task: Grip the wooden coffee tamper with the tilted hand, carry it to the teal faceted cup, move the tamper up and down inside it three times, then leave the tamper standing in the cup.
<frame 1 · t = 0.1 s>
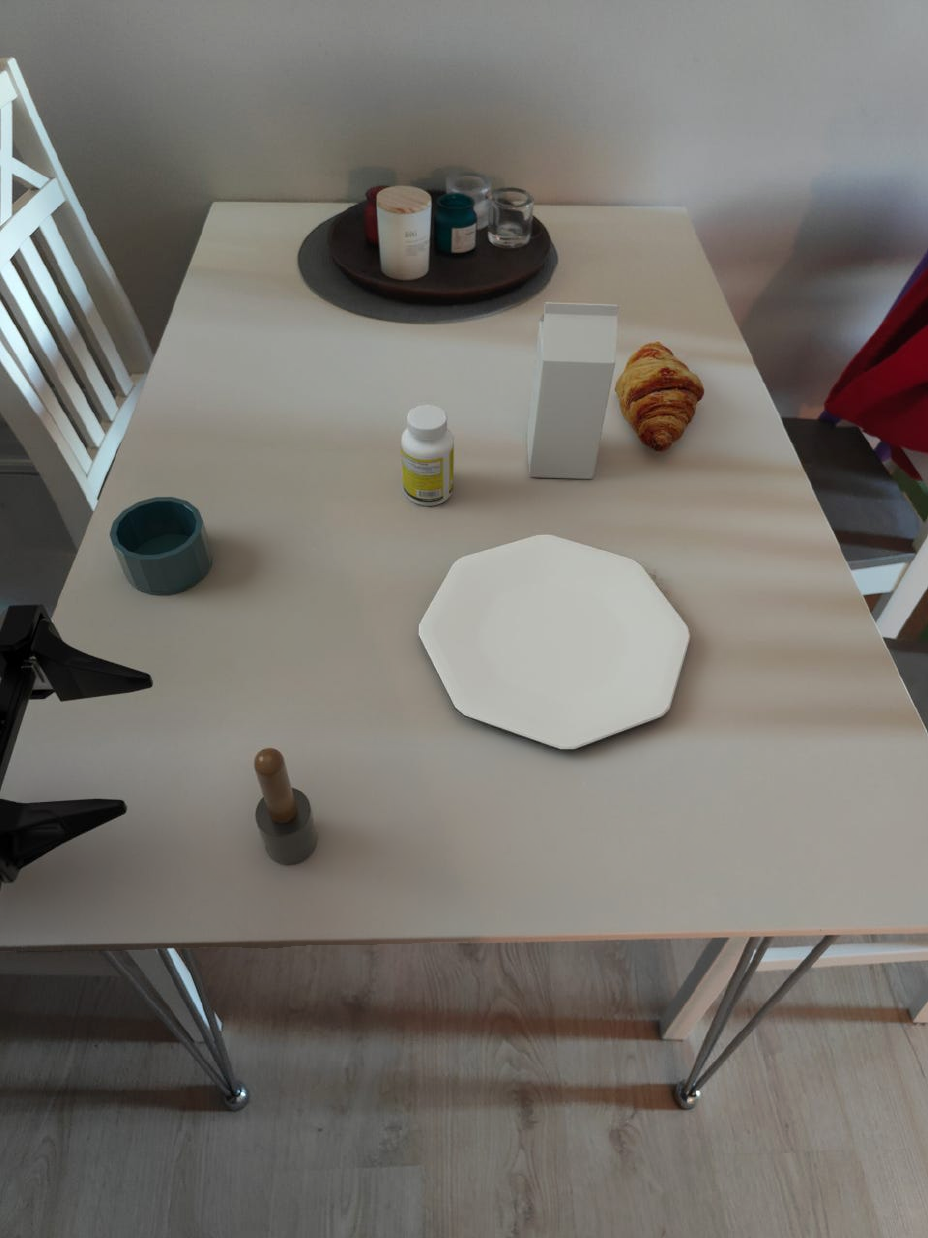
hand: (139, 740, 54), 15 cm above the table, tool horizontal, fingers open, 9 cm apart
plate: (552, 641, 80), on the table
teal faceted cup: (168, 563, 84), on the table
milk carton: (558, 459, 97), on the table
coffee tamper: (291, 840, 66), on the table
croissant: (655, 409, 103), on the table
supplement bottle: (427, 491, 92), on the table
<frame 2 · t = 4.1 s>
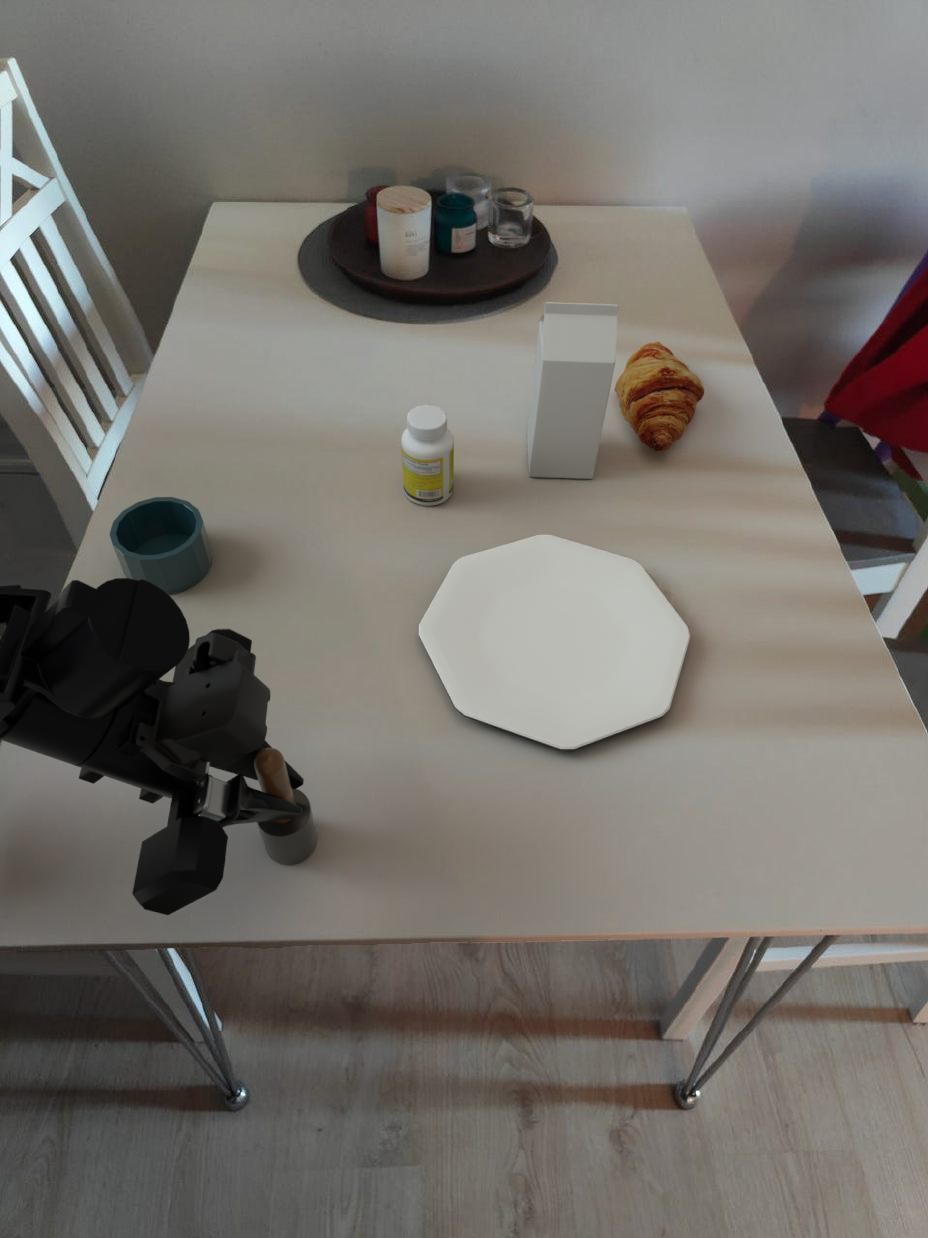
hand: (299, 799, 61), 7 cm above the table, tool tilted 45°, fingers closed on coffee tamper, 2 cm apart
coffee tamper: (291, 840, 66), on the table, touching gripper
everything else where it was.
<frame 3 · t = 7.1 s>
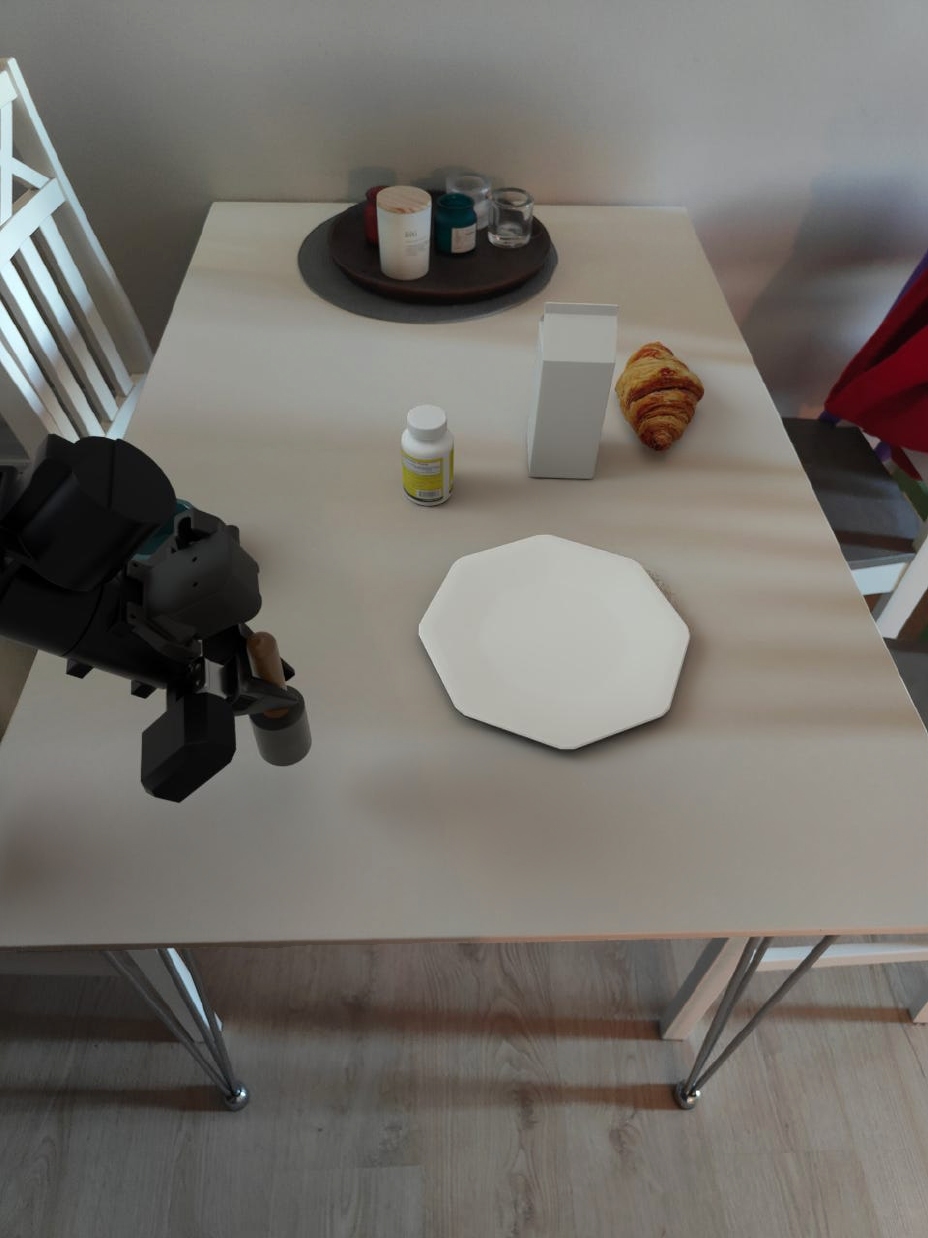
hand: (292, 689, 59), 13 cm above the table, tool tilted 45°, fingers closed on coffee tamper
coffee tamper: (285, 743, 64), point 6 cm above the table, touching gripper
everything else where it was.
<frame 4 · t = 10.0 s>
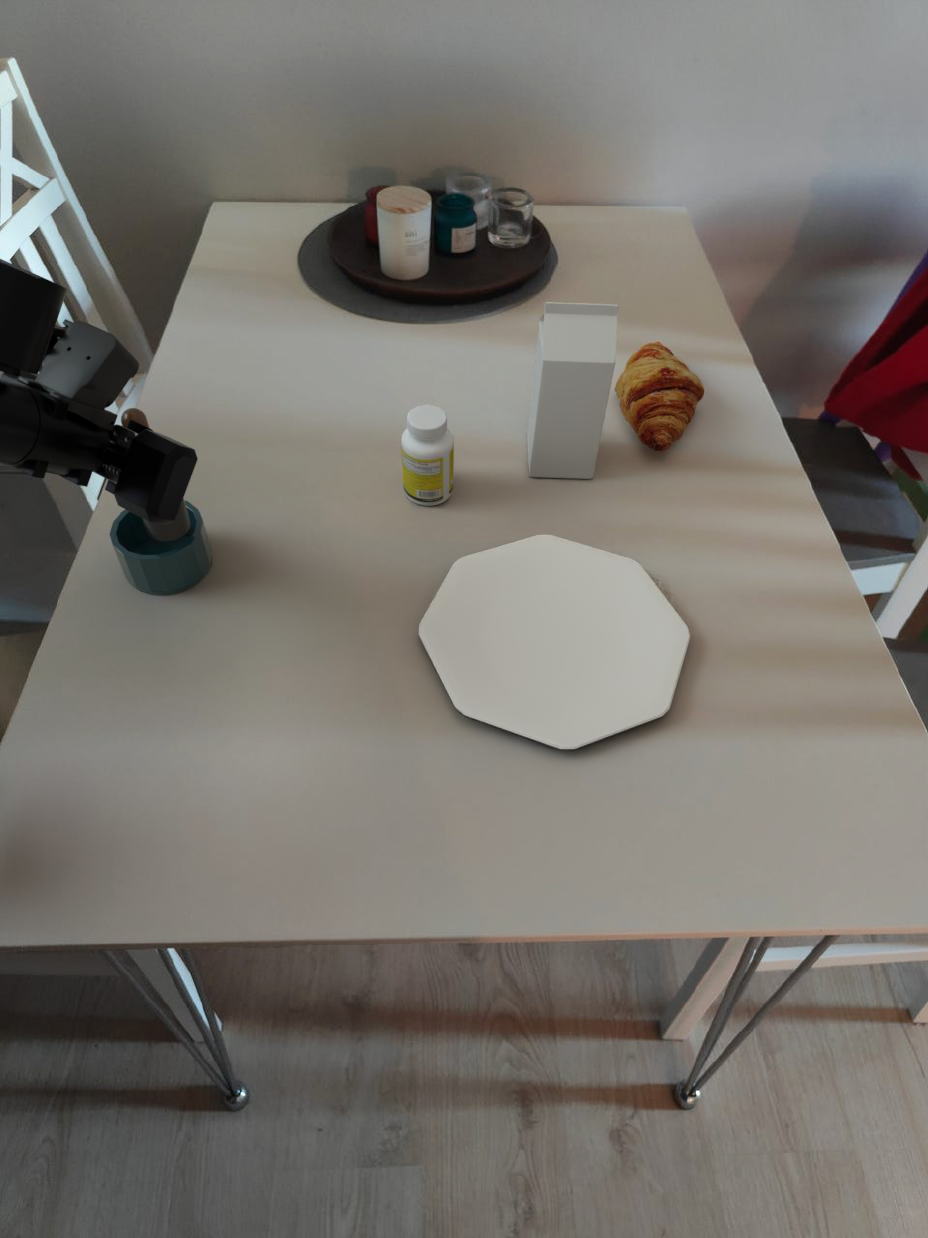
hand: (161, 461, 74), 13 cm above the table, tool tilted 45°, fingers closed on coffee tamper
coffee tamper: (168, 526, 79), point 6 cm above the table, touching gripper
everything else where it was.
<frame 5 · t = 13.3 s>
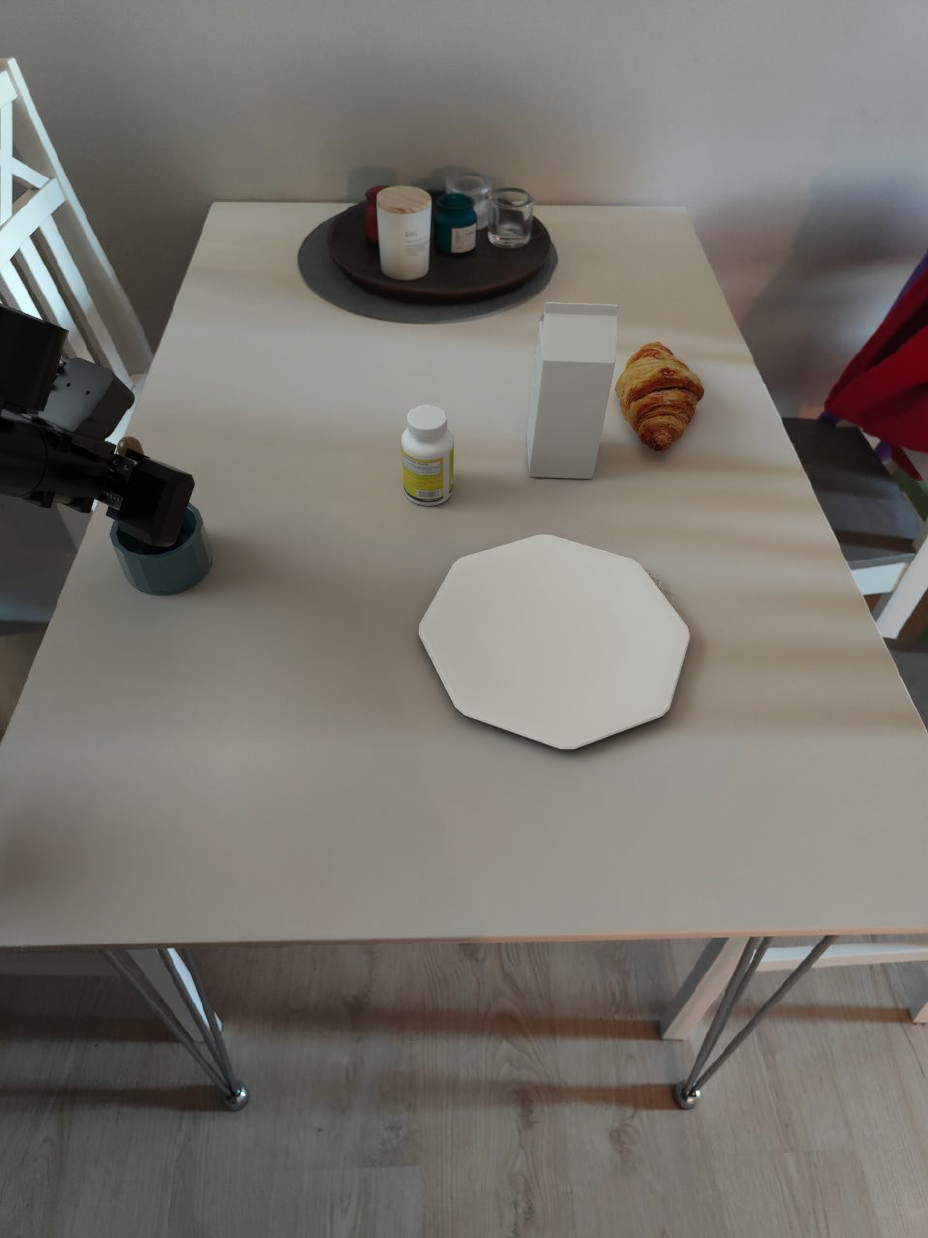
hand: (155, 485, 78), 9 cm above the table, tool tilted 45°, fingers closed on coffee tamper, 2 cm apart
coffee tamper: (163, 546, 82), point 2 cm above the table, touching gripper
everything else where it was.
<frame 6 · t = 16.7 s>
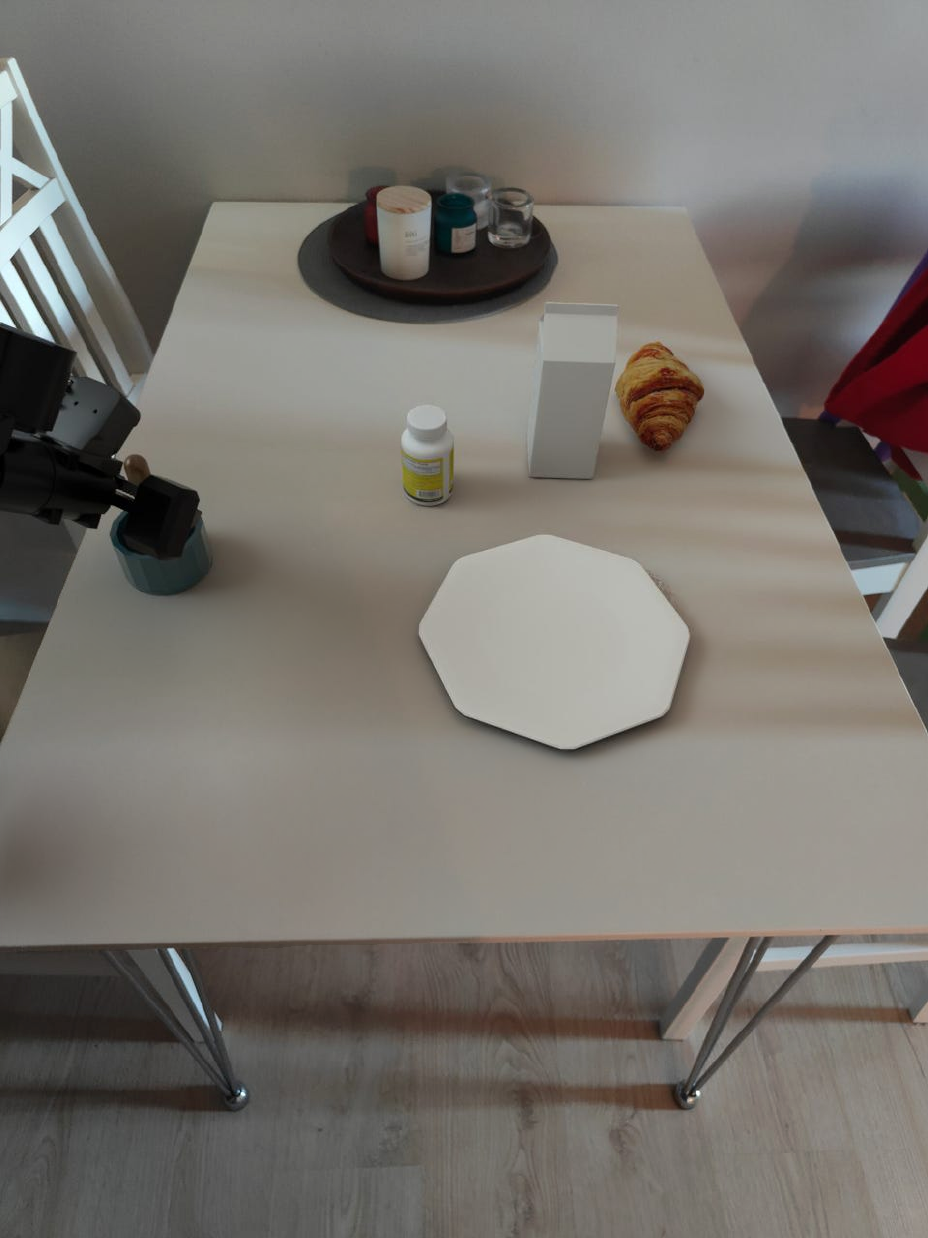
hand: (160, 499, 79), 7 cm above the table, tool tilted 45°, fingers open, 9 cm apart
coffee tamper: (167, 559, 84), resting on teal faceted cup
everything else where it was.
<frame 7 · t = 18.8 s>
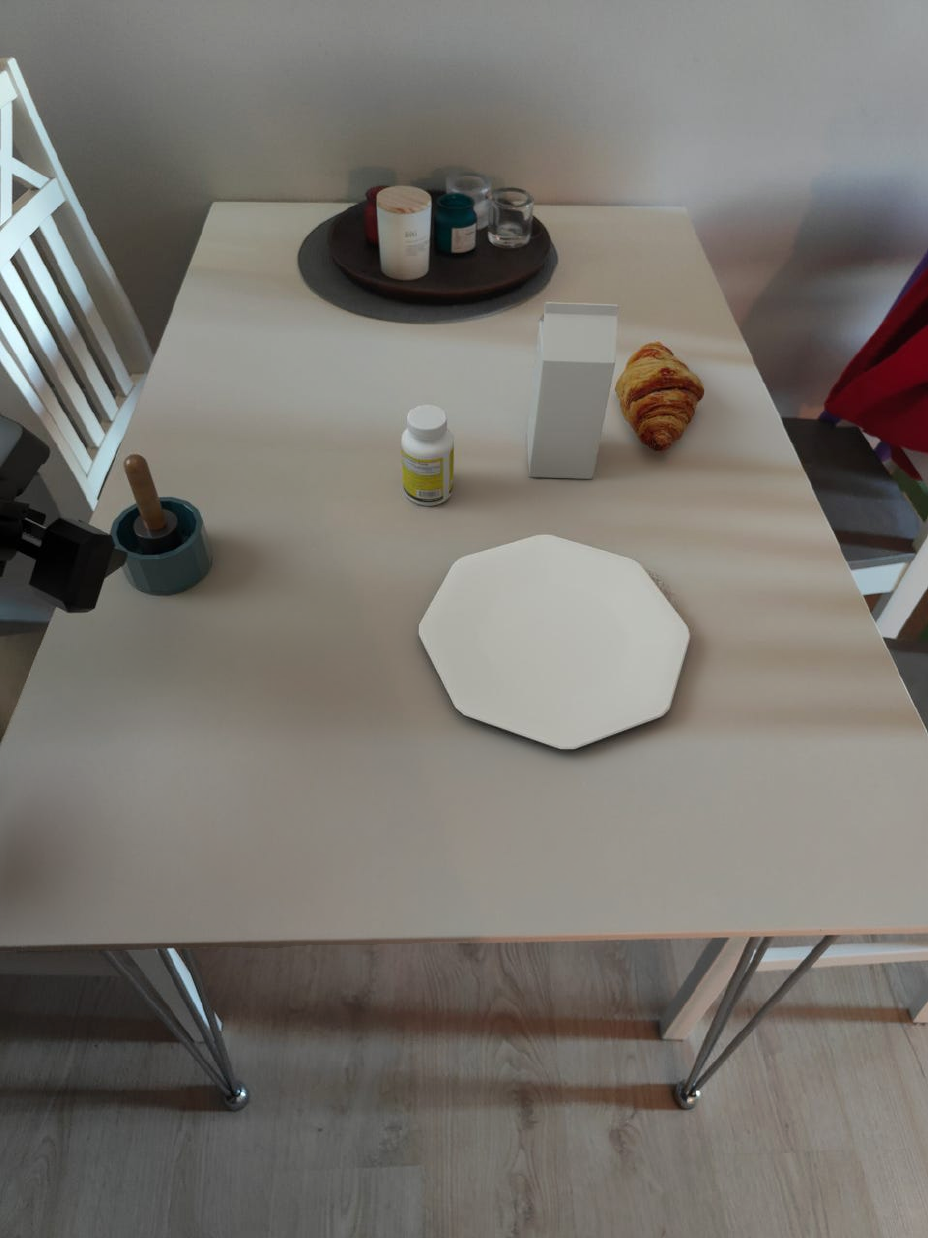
hand: (83, 538, 72), 10 cm above the table, tool tilted 45°, fingers open, 9 cm apart
nothing on the table moved.
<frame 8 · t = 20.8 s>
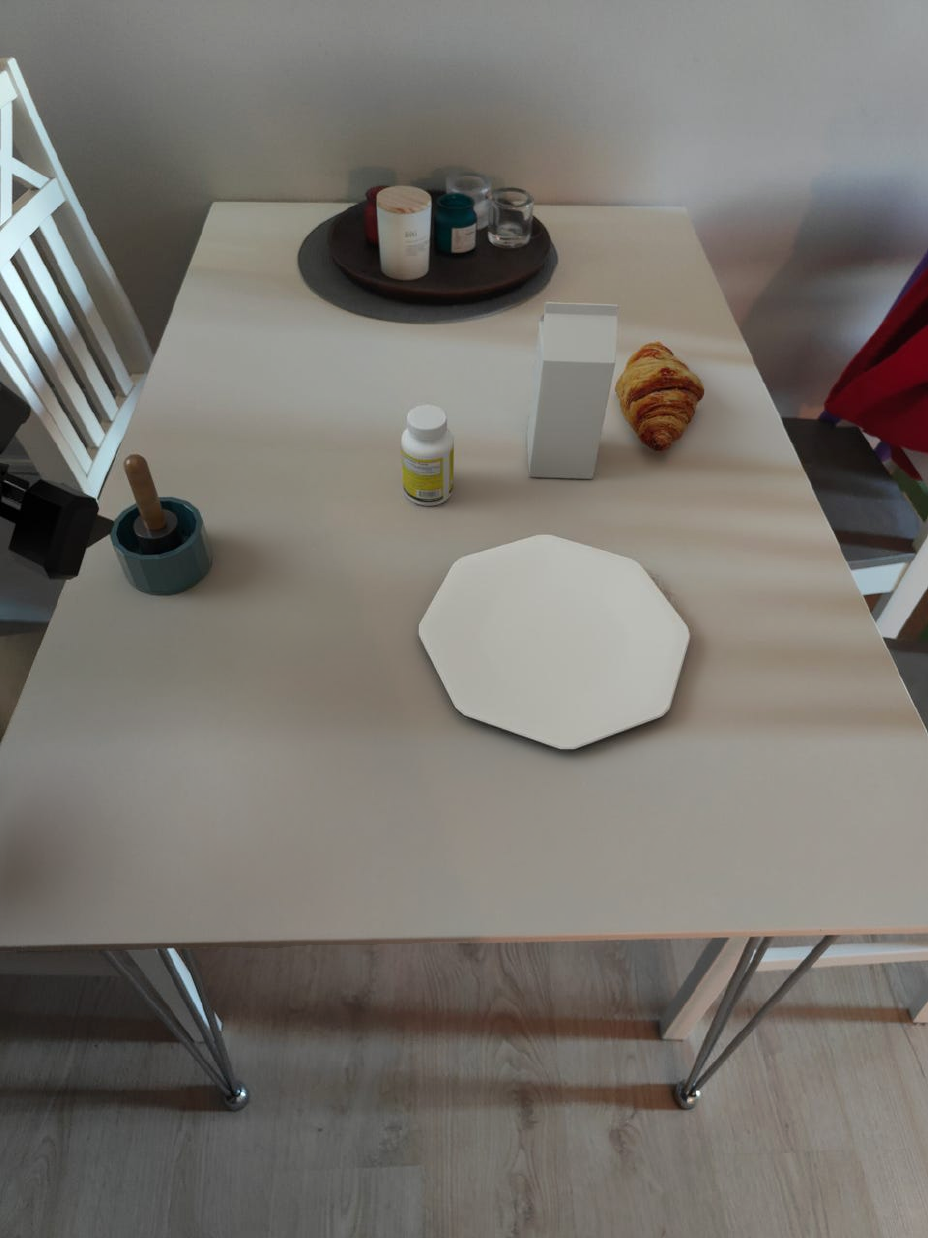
hand: (68, 506, 70), 14 cm above the table, tool tilted 45°, fingers open, 9 cm apart
nothing on the table moved.
at the end: coffee tamper 0.0 cm off-centre in the teal faceted cup, point 0.5 cm above the teal faceted cup's base; the gripper is holding nothing; coffee tamper tilted 0° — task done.
